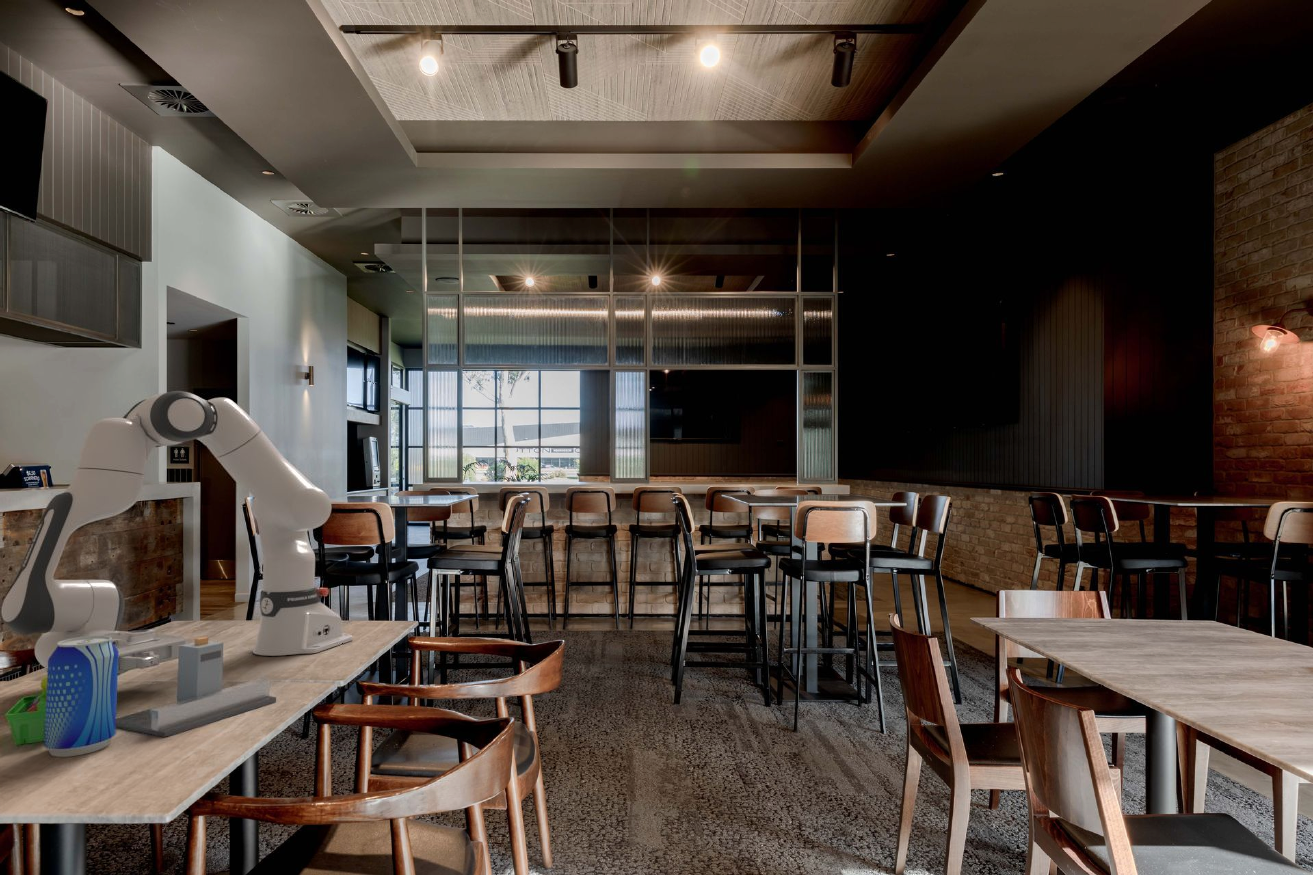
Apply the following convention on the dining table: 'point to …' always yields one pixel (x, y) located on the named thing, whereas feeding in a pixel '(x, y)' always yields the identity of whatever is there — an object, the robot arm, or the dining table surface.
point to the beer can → (81, 696)
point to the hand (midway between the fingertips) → (151, 662)
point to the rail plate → (147, 716)
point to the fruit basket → (29, 717)
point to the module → (199, 668)
